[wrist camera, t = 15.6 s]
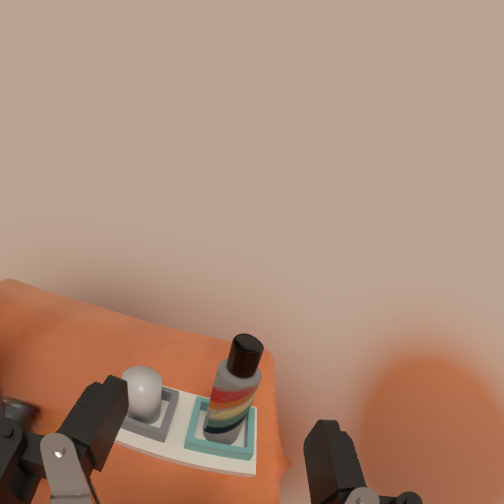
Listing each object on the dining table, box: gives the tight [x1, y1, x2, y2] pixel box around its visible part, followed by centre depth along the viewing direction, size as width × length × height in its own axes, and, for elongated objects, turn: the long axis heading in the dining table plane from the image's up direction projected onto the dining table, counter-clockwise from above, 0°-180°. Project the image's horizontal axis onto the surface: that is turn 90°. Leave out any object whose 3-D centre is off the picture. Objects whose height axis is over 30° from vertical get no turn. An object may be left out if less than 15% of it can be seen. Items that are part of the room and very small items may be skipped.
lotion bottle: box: [203, 334, 264, 445], centre depth 33 cm, size 6×6×20 cm
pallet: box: [114, 366, 257, 478], centre depth 35 cm, size 25×15×10 cm, turn 89°
